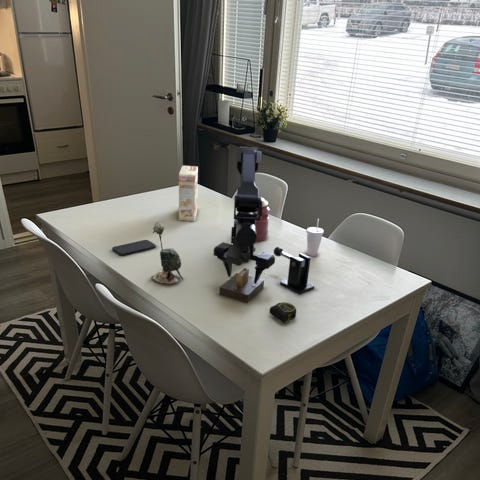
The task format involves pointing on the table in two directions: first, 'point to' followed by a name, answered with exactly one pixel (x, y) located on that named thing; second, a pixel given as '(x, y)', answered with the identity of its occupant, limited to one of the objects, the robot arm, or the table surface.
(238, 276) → the thumb turn
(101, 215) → the table surface
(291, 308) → the tape measure
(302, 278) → the handle bracket
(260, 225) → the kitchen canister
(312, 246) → the smoothie
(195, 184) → the coffeecake box
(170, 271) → the dried flower vase
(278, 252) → the door handle
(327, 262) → the table surface
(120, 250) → the phone
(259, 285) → the plate
